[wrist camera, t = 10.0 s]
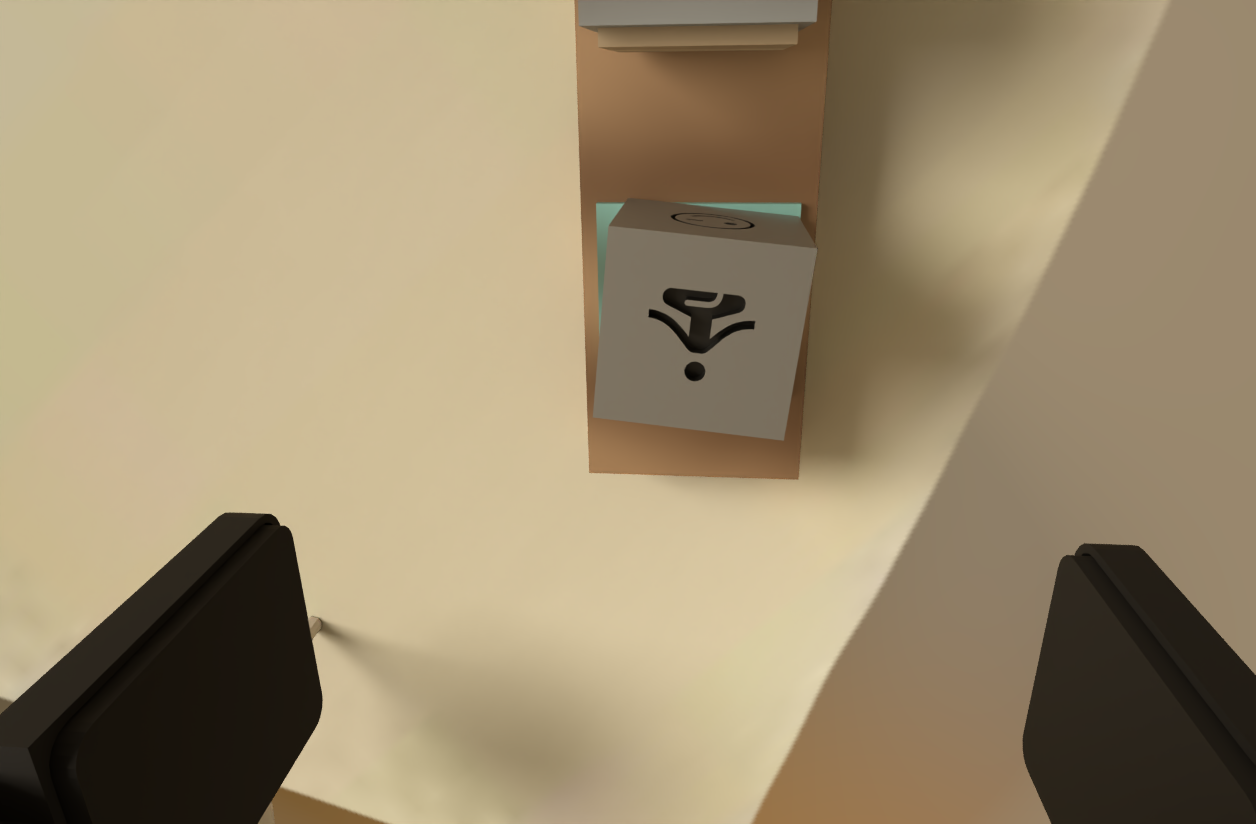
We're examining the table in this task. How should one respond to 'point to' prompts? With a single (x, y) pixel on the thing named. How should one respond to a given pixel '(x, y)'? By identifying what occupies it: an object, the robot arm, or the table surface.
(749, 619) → the table surface
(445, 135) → the table surface
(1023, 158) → the table surface
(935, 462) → the table surface
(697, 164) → the wooden block base
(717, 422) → the dice cube
